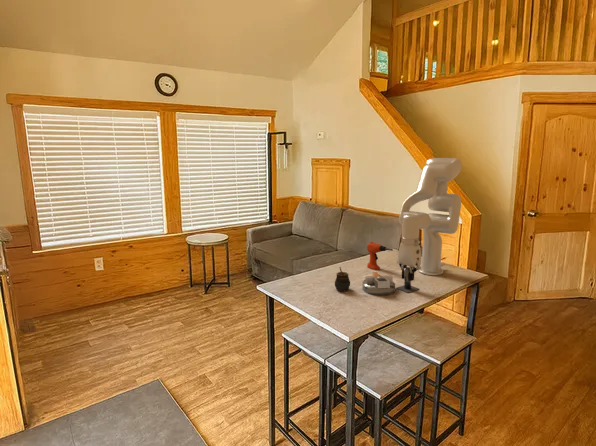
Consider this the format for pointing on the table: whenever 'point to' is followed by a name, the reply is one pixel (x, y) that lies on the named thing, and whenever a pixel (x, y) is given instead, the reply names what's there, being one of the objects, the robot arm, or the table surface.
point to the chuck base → (375, 291)
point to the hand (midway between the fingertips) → (407, 279)
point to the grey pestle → (407, 283)
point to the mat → (407, 289)
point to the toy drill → (373, 249)
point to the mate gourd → (342, 281)
